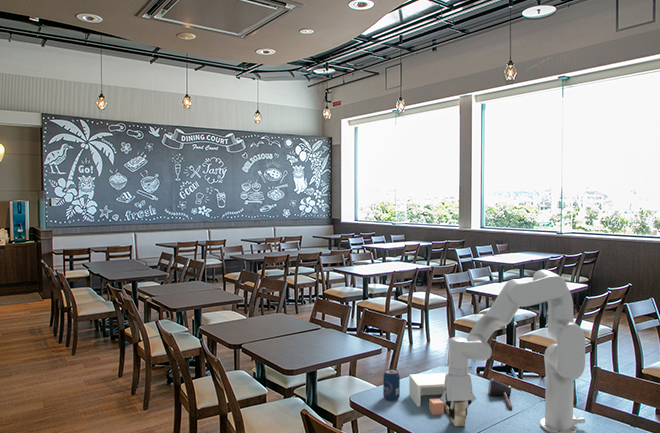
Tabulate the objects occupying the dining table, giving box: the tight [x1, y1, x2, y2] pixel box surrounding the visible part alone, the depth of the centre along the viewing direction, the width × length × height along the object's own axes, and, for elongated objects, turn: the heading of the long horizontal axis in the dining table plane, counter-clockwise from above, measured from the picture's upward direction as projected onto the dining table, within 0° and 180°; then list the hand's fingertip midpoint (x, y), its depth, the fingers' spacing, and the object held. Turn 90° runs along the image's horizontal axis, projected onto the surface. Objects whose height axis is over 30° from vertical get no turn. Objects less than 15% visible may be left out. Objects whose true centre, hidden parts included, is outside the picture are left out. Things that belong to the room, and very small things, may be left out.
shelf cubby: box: [408, 372, 447, 408], centre depth 206 cm, size 20×12×9 cm, turn 97°
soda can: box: [382, 368, 401, 402], centre depth 206 cm, size 7×7×12 cm
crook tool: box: [444, 401, 467, 427], centre depth 190 cm, size 7×17×9 cm, turn 7°
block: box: [428, 397, 445, 415], centre depth 195 cm, size 4×4×4 cm
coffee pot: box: [487, 377, 513, 411], centre depth 205 cm, size 8×18×8 cm
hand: (457, 416), depth 184 cm, fingers closed on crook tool, 4 cm apart
